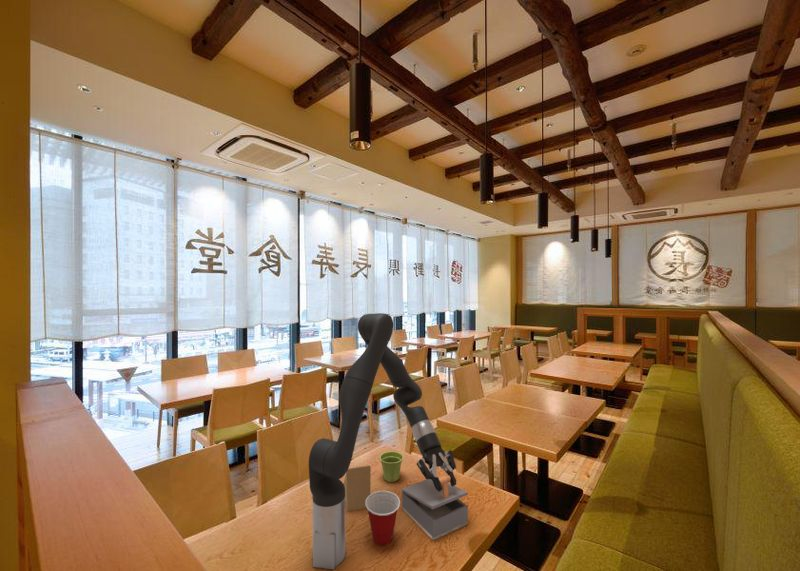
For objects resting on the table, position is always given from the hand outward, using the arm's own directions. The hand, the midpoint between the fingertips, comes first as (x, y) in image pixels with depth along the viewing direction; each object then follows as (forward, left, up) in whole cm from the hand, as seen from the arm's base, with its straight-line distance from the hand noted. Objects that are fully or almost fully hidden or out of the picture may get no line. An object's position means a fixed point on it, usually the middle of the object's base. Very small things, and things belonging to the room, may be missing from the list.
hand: (447, 487), depth 116 cm
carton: (+6, +5, -13) cm, 15 cm away
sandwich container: (+13, +34, -14) cm, 38 cm away
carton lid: (+6, +5, -5) cm, 9 cm away
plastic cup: (-7, +20, -14) cm, 25 cm away
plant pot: (+27, +23, -14) cm, 37 cm away
